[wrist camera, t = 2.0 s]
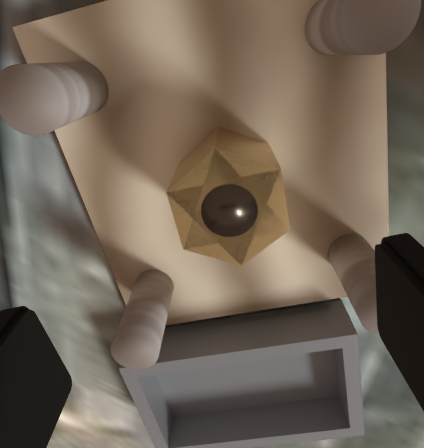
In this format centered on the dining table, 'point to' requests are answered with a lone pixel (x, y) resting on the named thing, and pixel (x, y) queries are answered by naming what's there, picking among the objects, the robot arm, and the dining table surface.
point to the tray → (253, 380)
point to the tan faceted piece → (229, 197)
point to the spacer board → (202, 126)
